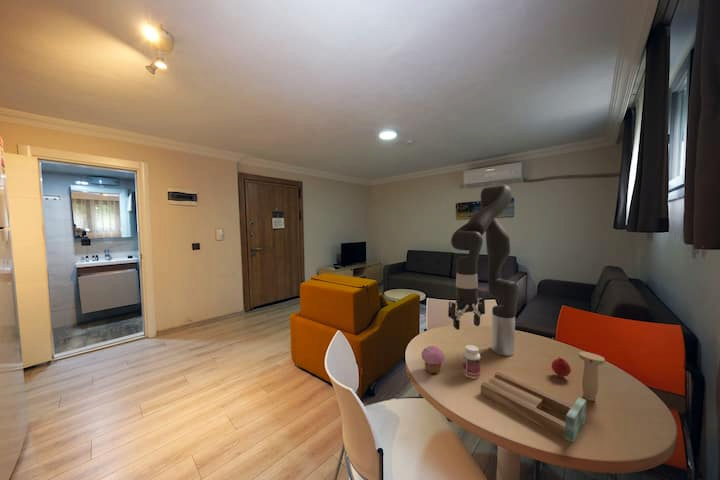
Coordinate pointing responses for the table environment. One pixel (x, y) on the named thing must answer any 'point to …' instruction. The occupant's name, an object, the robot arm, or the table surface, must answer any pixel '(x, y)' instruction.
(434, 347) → the cupcake
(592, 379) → the handle
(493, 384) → the channel board
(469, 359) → the pill bottle
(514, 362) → the table surface
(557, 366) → the onion
